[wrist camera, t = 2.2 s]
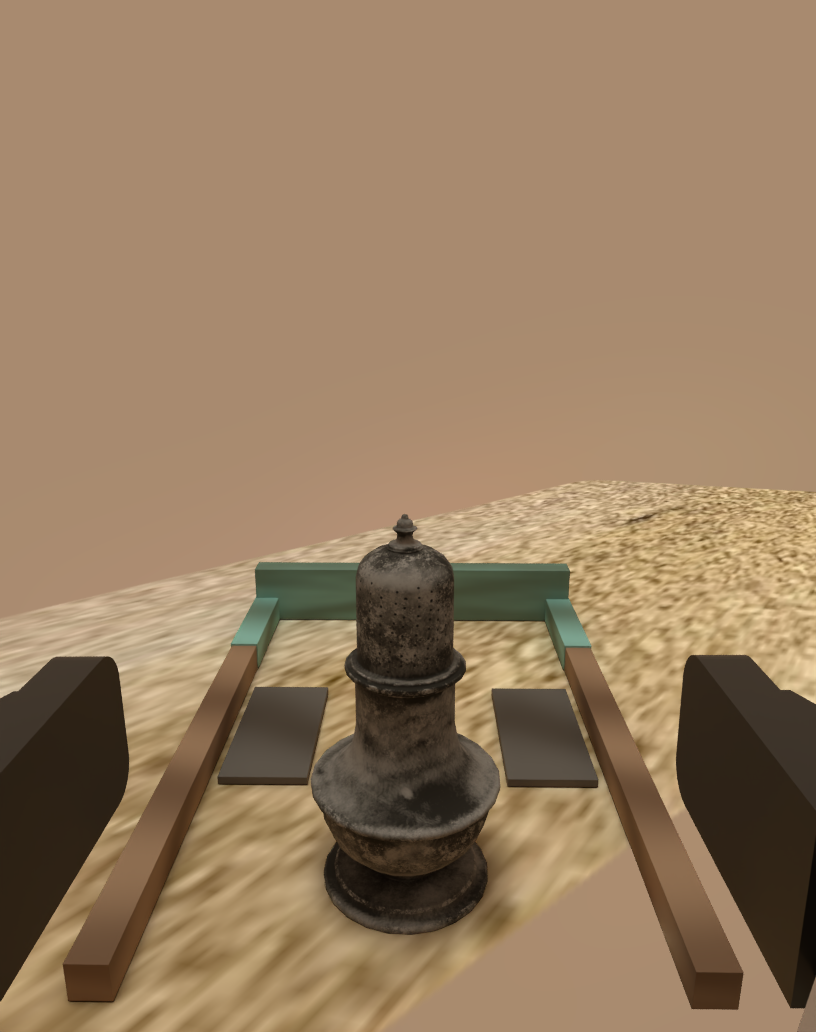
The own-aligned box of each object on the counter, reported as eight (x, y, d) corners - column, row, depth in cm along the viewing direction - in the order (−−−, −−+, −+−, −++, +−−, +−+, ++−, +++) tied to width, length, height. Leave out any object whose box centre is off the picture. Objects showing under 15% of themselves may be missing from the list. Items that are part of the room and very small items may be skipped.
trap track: (739, 1009, 20) (753, 915, 20) (66, 1000, 21) (52, 907, 20) (564, 612, 46) (567, 563, 45) (261, 610, 46) (258, 562, 45)
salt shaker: (370, 795, 29) (364, 481, 26) (521, 842, 27) (537, 501, 23) (277, 901, 24) (256, 528, 21) (453, 971, 22) (461, 560, 18)
